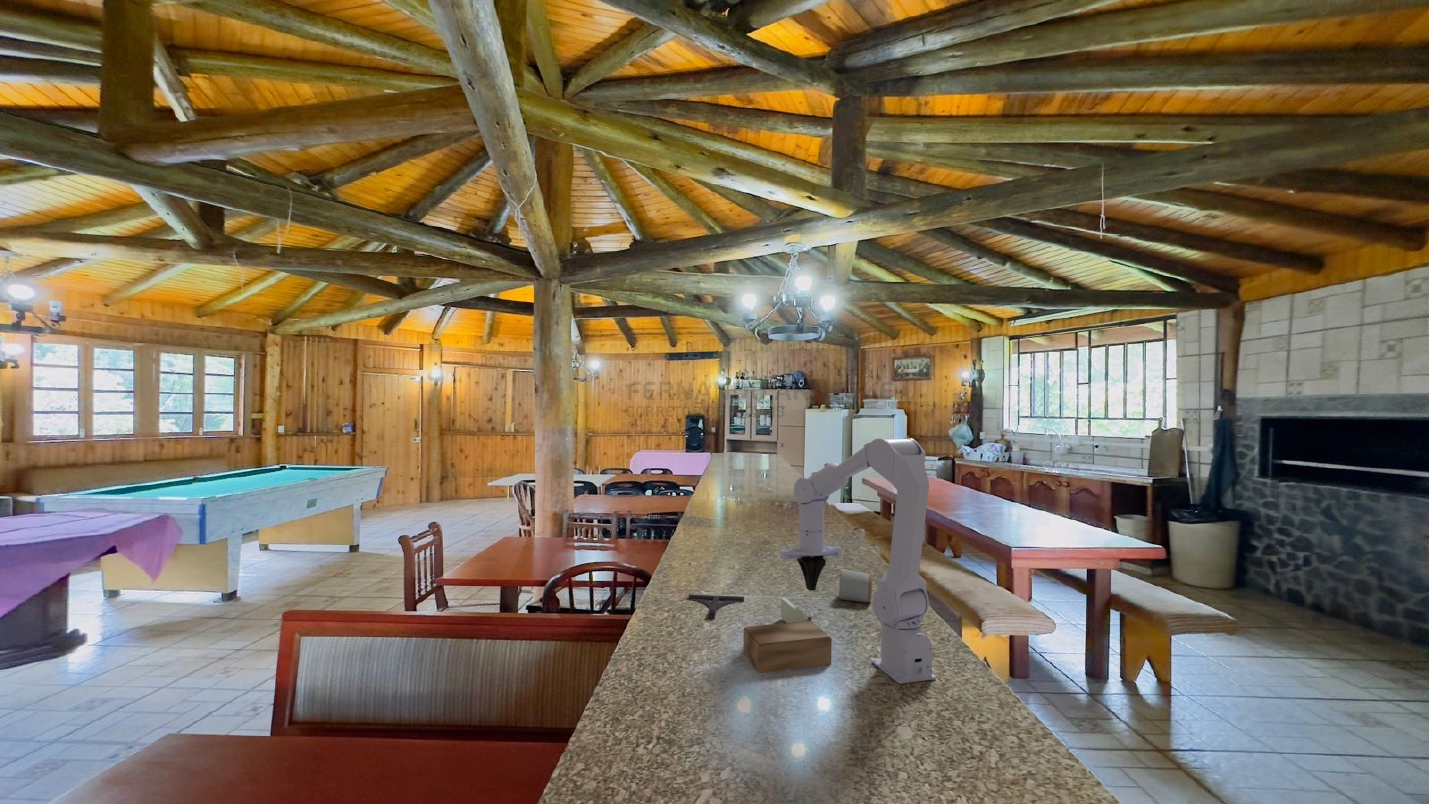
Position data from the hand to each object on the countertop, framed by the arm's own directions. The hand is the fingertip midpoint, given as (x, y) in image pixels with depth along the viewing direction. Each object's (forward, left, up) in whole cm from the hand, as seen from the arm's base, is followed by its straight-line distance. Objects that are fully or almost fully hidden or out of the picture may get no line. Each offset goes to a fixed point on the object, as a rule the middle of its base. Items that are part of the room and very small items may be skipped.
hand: (810, 589), depth 128 cm
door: (-1, +4, -8) cm, 9 cm away
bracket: (+16, +18, -9) cm, 26 cm away
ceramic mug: (+15, -20, -9) cm, 26 cm away
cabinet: (-14, +12, -8) cm, 20 cm away
